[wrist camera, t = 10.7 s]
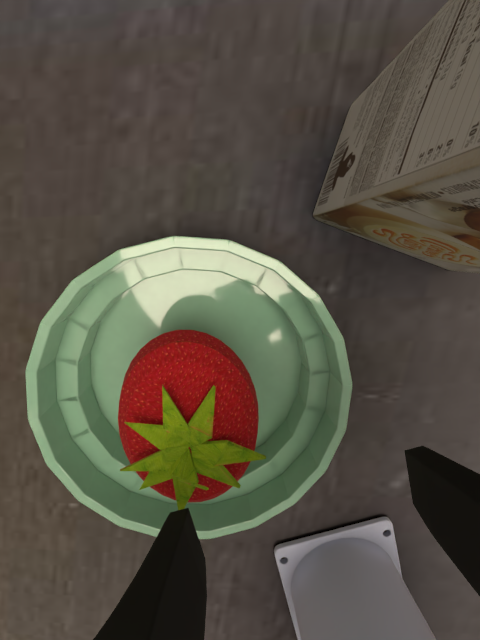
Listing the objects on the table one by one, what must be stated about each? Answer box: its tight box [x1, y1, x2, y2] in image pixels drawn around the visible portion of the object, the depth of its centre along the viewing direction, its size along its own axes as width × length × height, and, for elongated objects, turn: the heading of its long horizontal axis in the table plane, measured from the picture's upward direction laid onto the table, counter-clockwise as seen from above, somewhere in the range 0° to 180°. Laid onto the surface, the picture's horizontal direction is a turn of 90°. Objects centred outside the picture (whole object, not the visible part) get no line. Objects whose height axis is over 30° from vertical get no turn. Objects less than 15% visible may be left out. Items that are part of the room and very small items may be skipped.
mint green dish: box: [26, 236, 352, 539], centre depth 19 cm, size 15×15×4 cm
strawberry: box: [118, 330, 266, 510], centre depth 16 cm, size 6×8×10 cm
